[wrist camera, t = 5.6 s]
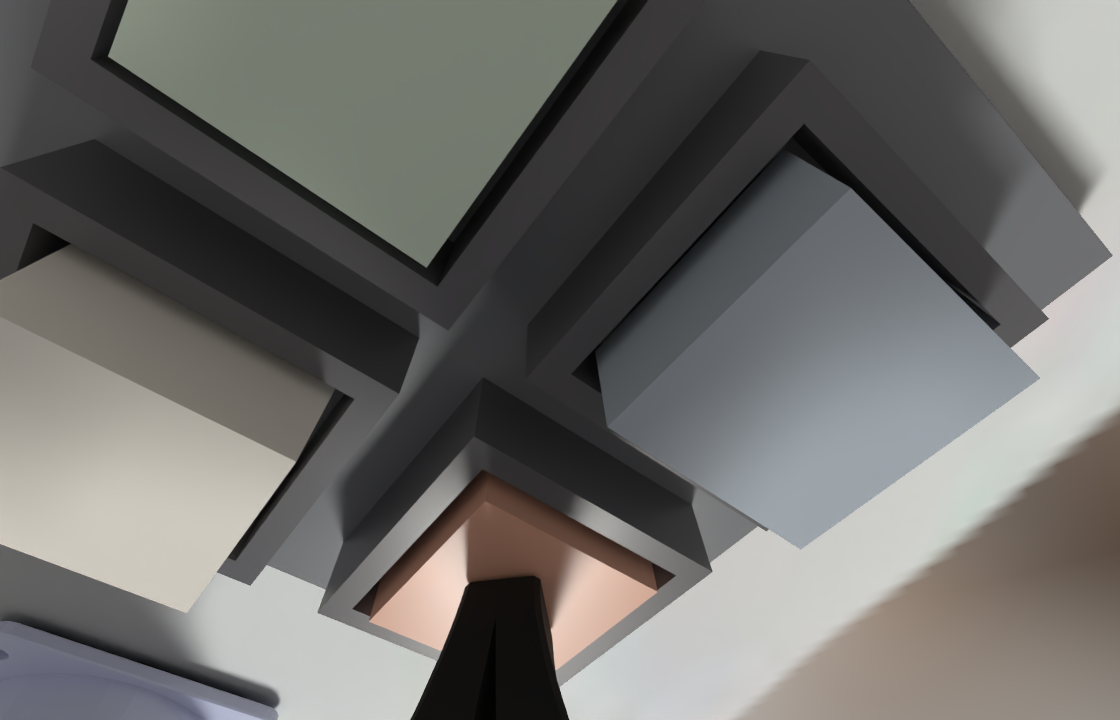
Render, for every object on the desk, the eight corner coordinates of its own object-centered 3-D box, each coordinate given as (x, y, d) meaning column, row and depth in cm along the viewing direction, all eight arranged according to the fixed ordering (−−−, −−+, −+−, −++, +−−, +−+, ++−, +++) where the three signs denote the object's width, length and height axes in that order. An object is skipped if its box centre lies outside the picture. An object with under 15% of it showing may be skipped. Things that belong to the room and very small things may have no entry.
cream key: (240, 520, 11) (186, 613, 10) (9, 419, 10) (-102, 506, 8) (339, 381, 10) (296, 461, 8) (81, 237, 8) (-37, 298, 7)
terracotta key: (533, 608, 15) (532, 688, 13) (390, 541, 13) (368, 621, 11) (642, 514, 13) (657, 592, 11) (493, 428, 12) (485, 500, 10)
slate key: (759, 463, 11) (800, 549, 9) (595, 351, 10) (607, 426, 8) (948, 310, 9) (1039, 377, 8) (783, 149, 8) (851, 187, 6)
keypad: (550, 650, 17) (552, 753, 15) (-75, 373, 12) (-229, 466, 9) (1069, 236, 11) (1214, 299, 9) (255, -744, 6) (47, -1298, 3)
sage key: (447, 219, 9) (426, 267, 8) (199, 45, 8) (107, 55, 6) (609, -11, 8) (629, -16, 6) (337, -276, 6) (265, -377, 5)
